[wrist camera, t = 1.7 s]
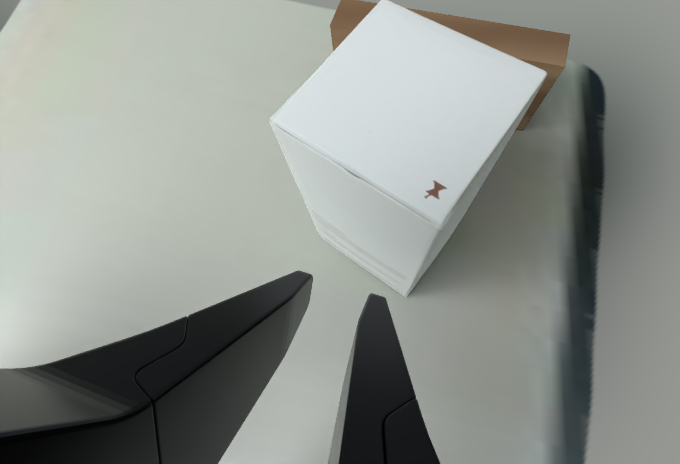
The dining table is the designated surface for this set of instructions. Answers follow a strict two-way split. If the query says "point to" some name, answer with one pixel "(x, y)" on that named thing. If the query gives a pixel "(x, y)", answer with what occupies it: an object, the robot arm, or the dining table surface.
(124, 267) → the dining table surface
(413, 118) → the supplement box
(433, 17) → the board
